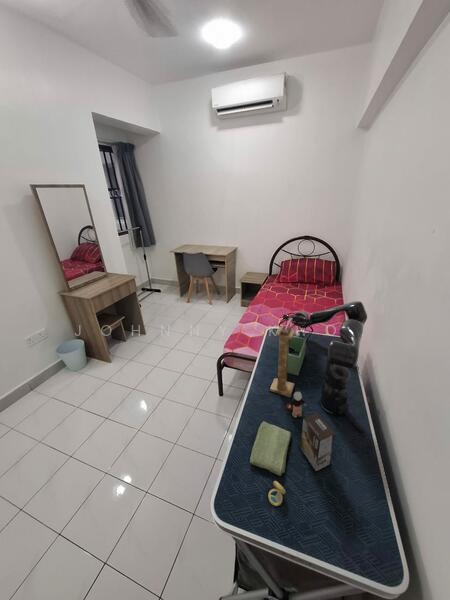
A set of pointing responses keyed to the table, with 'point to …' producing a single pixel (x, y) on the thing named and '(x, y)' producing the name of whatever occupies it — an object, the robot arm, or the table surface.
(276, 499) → the eyeshadow
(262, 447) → the washcloth
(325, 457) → the coffee box
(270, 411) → the table surface
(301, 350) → the bin
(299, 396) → the grandmother figurine
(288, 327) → the straw
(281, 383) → the straw stand
